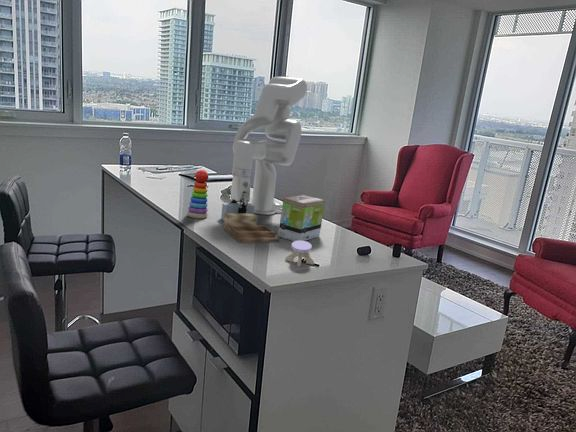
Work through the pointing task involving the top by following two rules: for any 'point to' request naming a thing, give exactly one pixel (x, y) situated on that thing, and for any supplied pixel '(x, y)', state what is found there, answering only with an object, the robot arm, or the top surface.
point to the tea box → (301, 218)
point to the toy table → (300, 252)
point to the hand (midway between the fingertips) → (237, 214)
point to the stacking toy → (199, 196)
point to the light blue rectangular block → (235, 208)
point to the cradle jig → (252, 233)
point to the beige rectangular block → (239, 219)
